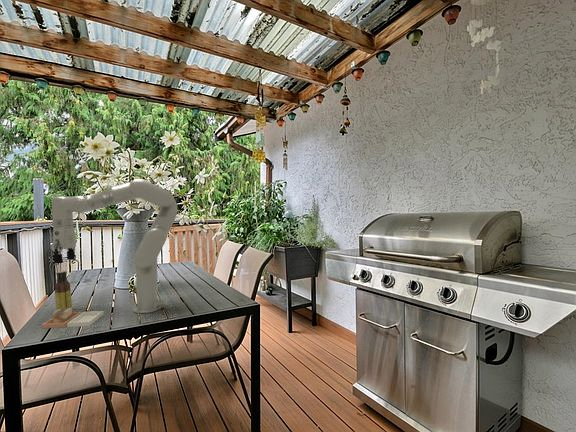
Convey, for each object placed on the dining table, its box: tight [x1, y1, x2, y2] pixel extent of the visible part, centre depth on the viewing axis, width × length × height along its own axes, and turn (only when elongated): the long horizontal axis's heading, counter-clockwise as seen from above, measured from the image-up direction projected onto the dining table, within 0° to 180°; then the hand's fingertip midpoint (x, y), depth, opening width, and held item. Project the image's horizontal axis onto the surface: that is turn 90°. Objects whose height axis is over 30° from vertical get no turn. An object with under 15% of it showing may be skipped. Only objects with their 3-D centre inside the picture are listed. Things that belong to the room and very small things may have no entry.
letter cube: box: [52, 307, 73, 323], centre depth 138 cm, size 5×5×5 cm
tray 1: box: [41, 311, 83, 329], centre depth 138 cm, size 8×14×2 cm, turn 8°
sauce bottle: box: [54, 270, 73, 311], centre depth 152 cm, size 7×6×20 cm
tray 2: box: [66, 310, 105, 328], centre depth 139 cm, size 8×14×2 cm, turn 8°
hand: (64, 261), depth 143 cm, fingers open, 9 cm apart
